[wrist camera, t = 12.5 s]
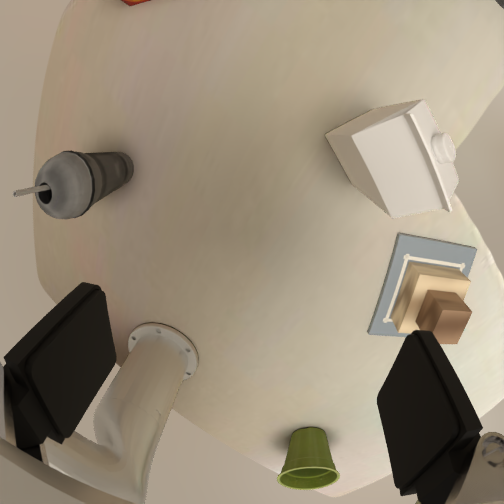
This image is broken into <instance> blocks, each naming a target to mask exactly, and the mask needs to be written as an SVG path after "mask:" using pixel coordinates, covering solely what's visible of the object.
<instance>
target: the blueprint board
mask: <svg viewBox="0 0 504 504" xmlns="http://www.w3.org/2000/svg"><path fill="white" fill-rule="evenodd" d="M476 251H477V249H476V248H475V247H471V246H466V245H461V244H456V243H451V242H446V241H441V240H435V239H430V238H425V237H419V236H414V235H408V234H403V233H398V235H397V239H396V242H395V246H394V250H393V254H392V257H391V261H390V264H389V268H388V271H387V275H386V278H385V281H384V284H383V288H382V291H381V294H380V297H379V300H378V303H377V306H376V309H375V312H374V315H373V318H372V321H371V323H370V326H369V329H368V334H369V335H381V336H397V337H407V335H409V334H411V333H398V331H397V329H396V327H395V325H394V323H393V321H392V319H391V314H392V311H393V309H394V306H395V303H396V300H397V297H398V295H399V292H400V289H401V286H402V283H403V280H404V276H405V273H406V270H407V267H408V264H409V262H416V263H422V264H429V265H436V266H442V267H449V268H455V269H459V270H460V271H461V272H462V273H463V274H464V275H465V276H466V277H467V278H468V275H469V272H470V269H471V266H472V264H473V261H474V258H475V255H476Z"/></svg>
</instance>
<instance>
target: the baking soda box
mask: <svg viewBox="0 0 504 504" xmlns="http://www.w3.org/2000/svg"><path fill="white" fill-rule="evenodd" d="M121 1H123V2H124V3H126V4H127V5H129V6H132V5H136V4H139V3H143V2H146V1H150V0H121Z"/></svg>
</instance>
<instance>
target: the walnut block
mask: <svg viewBox="0 0 504 504" xmlns="http://www.w3.org/2000/svg"><path fill="white" fill-rule="evenodd" d="M471 314H472V311H471V310H470V309H469V307H468V306H467V305H466V304H465V303H464V301H463V300H462V299H461V298H460V297H459V296H458V294H457V293H455V292H446V291H437V290H427V293H426V295H425V298H424V301H423V303H422V306H421V308H420V311H419V313H418V316H417V318H416V321H415V322H416V324H417V325H418V327H419V329H420V330H426V331H432V333H433V334H434V336H435V337H436V339H437V341H438V342H439V344H457V343H458V341H459V339H460V337H461V335H462V333H463V331H464V329H465V327H466V324H467V322H468V320H469V318H470V316H471Z"/></svg>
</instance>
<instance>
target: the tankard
mask: <svg viewBox="0 0 504 504" xmlns="http://www.w3.org/2000/svg"><path fill="white" fill-rule="evenodd" d="M496 2H497V3H498V4H499V5H500V6H501V7H502V8H504V0H496Z"/></svg>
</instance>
